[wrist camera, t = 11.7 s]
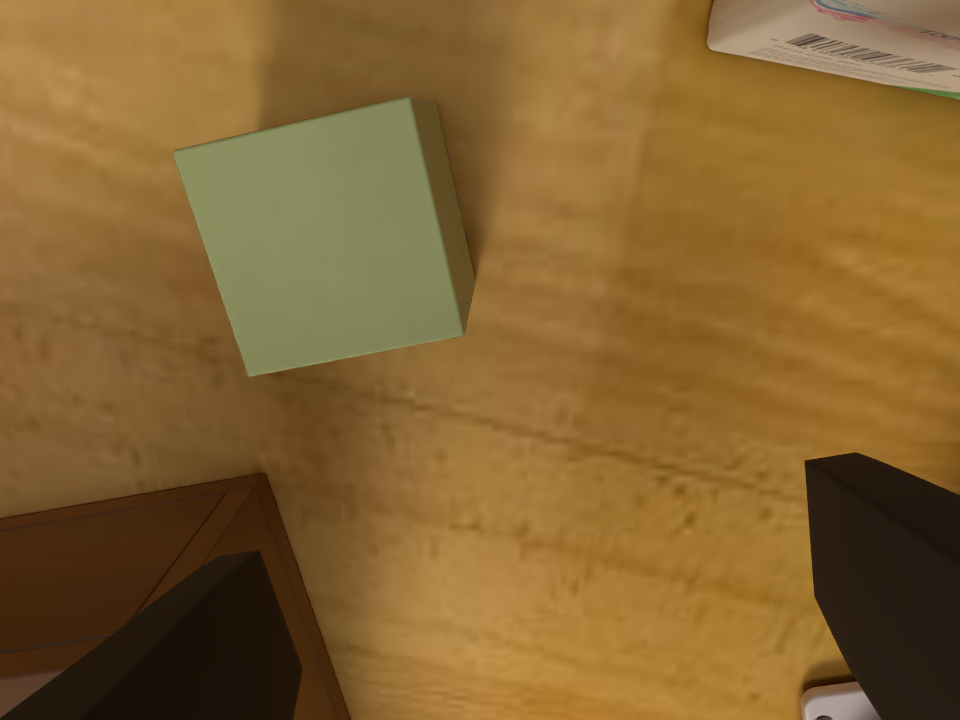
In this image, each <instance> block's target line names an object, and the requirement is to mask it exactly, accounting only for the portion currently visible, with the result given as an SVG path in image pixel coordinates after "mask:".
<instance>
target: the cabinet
mask: <svg viewBox="0 0 960 720" xmlns="http://www.w3.org/2000/svg"><path fill="white" fill-rule="evenodd" d="M254 550H260V552H261V555H262V557H263V560H264V563H265V566H266V568H267V571H268V574H269V577H270V579H271V582H272V585H273V588H274V590H275V593H276V596H277V599H278V601H279V604H280V607H281V610H282V612H283V615H284V618H285V621H286V623H287V626H288V629H289V632H290V634H291V637H292V640H293V643H294V645H295V648H296V651H297V654H298V656H299V659H300V662H301V665H302V668H303V672H302V677H301V683H300V688H299V693H298V698H297V703H296V709H295V713H294V718H293V720H350V718H349V715H348V712H347V709H346V706H345V704H344V701H343V698H342V695H341V692H340V689H339V686H338V683H337V681H336V678H335V675H334V672H333V669H332V666H331V663H330V660H329V657H328V655H327V652H326V649H325V646H324V643H323V640H322V637H321V634H320V631H319V629H318V626H317V623H316V620H315V617H314V614H313V611H312V608H311V606H310V603H309V600H308V597H307V594H306V591H305V588H304V585H303V582H302V580H301V577H300V574H299V571H298V568H297V565H296V562H295V559H294V557H293V554H292V551H291V548H290V545H289V542H288V539H287V536H286V533H285V531H284V528H283V525H282V522H281V519H280V516H279V513H278V510H277V507H276V505H275V502H274V499H273V496H272V493H271V490H270V487H269V484H268V482H267V479H266V476H265V474H257V475H252V476H246V477H240V478H234V479H229V480H223V481H217V482H212V483H206V484H200V485H195V486H189V487H183V488H177V489H172V490H166V491H160V492H155V493H149V494H143V495H137V496H132V497H126V498H120V499H115V500H109V501H103V502H97V503H92V504H86V505H80V506H75V507H69V508H63V509H57V510H52V511H46V512H40V513H35V514H29V515H23V516H17V517H12V518H6V519H0V718H1V717H2V716H3V715H5V714H6V713H7V712H9V711H10V710H11V709H13V708H14V707H15V706H17V705H18V704H20V703H21V702H22V701H24V700H25V699H26V698H28V697H29V696H30V695H32V694H33V693H35V692H36V691H37V690H39V689H40V688H41V687H43V686H44V685H45V684H47V683H48V682H49V681H51V680H52V679H54V678H55V677H56V676H58V675H59V674H60V673H62V672H63V671H64V670H66V669H67V668H69V667H70V666H71V665H73V664H74V663H75V662H77V661H78V660H79V659H81V658H82V657H83V656H85V655H86V654H87V653H88V652H90V651H91V650H92V649H94V648H95V647H96V646H97V645H99V644H100V643H101V642H103V641H104V640H105V639H106V638H108V637H109V636H110V635H112V634H113V633H114V632H115V631H117V630H118V629H119V628H121V627H122V626H123V625H124V624H126V623H127V622H128V621H130V620H131V619H132V618H133V617H135V616H136V615H137V614H139V613H140V612H141V611H142V610H144V609H145V608H146V607H148V606H149V605H150V604H151V603H153V602H154V601H155V600H157V599H158V598H159V597H161V596H162V595H163V594H164V593H166V592H167V591H168V590H170V589H171V588H172V587H174V586H175V585H176V584H178V583H179V582H180V581H182V580H183V579H184V578H186V577H187V576H189V575H190V574H191V573H193V572H194V571H196V570H197V569H199V568H200V567H202V566H203V565H205V564H206V563H208V562H209V561H211V560H213V559H214V558H216V557H218V556H223V555H229V554H235V553H241V552H248V551H254Z"/></svg>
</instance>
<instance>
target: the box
mask: <svg viewBox="0 0 960 720" xmlns="http://www.w3.org/2000/svg"><path fill="white" fill-rule="evenodd" d="M173 156H174V159H175V162H176V165H177V167H178V170H179V173H180V176H181V179H182V182H183V185H184V188H185V191H186V194H187V197H188V200H189V203H190V206H191V209H192V212H193V215H194V218H195V221H196V224H197V226H198V229H199V232H200V235H201V238H202V241H203V244H204V247H205V250H206V253H207V256H208V259H209V262H210V265H211V268H212V271H213V274H214V277H215V280H216V283H217V285H218V288H219V291H220V294H221V297H222V300H223V303H224V306H225V309H226V312H227V315H228V318H229V321H230V324H231V327H232V330H233V333H234V336H235V339H236V342H237V344H238V347H239V350H240V353H241V356H242V359H243V362H244V365H245V368H246V371H247V374H248V376H257V375H262V374H267V373H272V372H278V371H283V370H288V369H293V368H299V367H304V366H309V365H314V364H320V363H325V362H330V361H335V360H341V359H346V358H351V357H356V356H361V355H367V354H372V353H377V352H382V351H388V350H393V349H398V348H403V347H409V346H414V345H419V344H424V343H430V342H435V341H440V340H445V339H451V338H456V337H461V336H463V335H464V334H465V329H466V325H467V320H468V315H469V310H470V306H471V301H472V296H473V291H474V287H475V282H476V281H475V277H474V272H473V267H472V263H471V258H470V254H469V249H468V245H467V240H466V235H465V231H464V226H463V222H462V217H461V212H460V208H459V203H458V199H457V194H456V190H455V185H454V180H453V176H452V171H451V167H450V162H449V158H448V153H447V148H446V144H445V139H444V135H443V130H442V126H441V121H440V116H439V112H438V107H437V103H436V100H434V99H425V98H416V97H403V98H398V99H394V100H389V101H385V102H381V103H376V104H372V105H368V106H363V107H359V108H355V109H350V110H346V111H342V112H337V113H333V114H329V115H324V116H320V117H316V118H311V119H307V120H303V121H298V122H294V123H290V124H285V125H281V126H277V127H272V128H268V129H264V130H259V131H255V132H251V133H246V134H242V135H237V136H233V137H229V138H224V139H220V140H216V141H211V142H207V143H203V144H198V145H194V146H190V147H185V148H181V149H177V150H174V151H173Z"/></svg>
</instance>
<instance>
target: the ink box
mask: <svg viewBox="0 0 960 720" xmlns="http://www.w3.org/2000/svg"><path fill="white" fill-rule="evenodd" d="M707 45H708V47H709V48H710V49H711V50H714V51H719V52H724V53H730V54H735V55H741V56H746V57H751V58H756V59H761V60H766V61H771V62H776V63H781V64H786V65H791V66H796V67H801V68H806V69H811V70H816V71H821V72H826V73H831V74H836V75H841V76H846V77H851V78H856V79H861V80H866V81H871V82H876V83H880V84H885V85H890V86H895V87H900V88H905V89H910V90H914V91H919V92H924V93H929V94H933V95H937V96H943V97H948V98H952V99H957V100H960V0H714V2H713V6H712V10H711V15H710V20H709V30H708V38H707Z"/></svg>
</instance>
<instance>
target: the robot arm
mask: <svg viewBox="0 0 960 720" xmlns="http://www.w3.org/2000/svg"><path fill="white" fill-rule="evenodd" d="M805 472H806V486H807V500H808V513H809V527H810V541H811V555H812V569H813V582H814V596H815V598H816V600H817V603H818V605H819V607H820V609H821V611H822V613H823V615H824V618H825V620H826V622H827V624H828V626H829V628H830V630H831V633H832V635H833V637H834V639H835V641H836V643H837V645H838V647H839V649H840V651H841V653H842V655H843V657H844V659H845V661H846V663H847V665H848V667H849V669H850V671H851V672H852V674H853V676H854V677H855V679H856V680H857V682H850V683H842V684H834V685H827V686H819V687H814V688H810V689H809V690H807V691H806V692H805V693H804V694H803V695H802V697H801V714H802V720H960V495H958V494H955V493H953V492H951V491H949V490H946V489H944V488H942V487H939V486H937V485H935V484H932V483H930V482H928V481H926V480H923V479H921V478H919V477H916V476H914V475H912V474H909V473H907V472H905V471H902V470H900V469H898V468H895V467H893V466H890V465H888V464H886V463H883V462H881V461H878V460H876V459H873V458H870V457H867V456H865V455H862V454H859V453H856V452H855V453H849V454H843V455H837V456H830V457H824V458H818V459H812V460H806V461H805ZM302 672H303V668H302V665H301V662H300V659H299V656H298V654H297V651H296V648H295V645H294V643H293V640H292V637H291V634H290V632H289V629H288V626H287V623H286V621H285V618H284V615H283V612H282V610H281V607H280V604H279V601H278V599H277V596H276V593H275V590H274V588H273V585H272V582H271V579H270V577H269V574H268V571H267V568H266V566H265V563H264V560H263V557H262V555H261V552H260V550H254V551H248V552H241V553H235V554H229V555H223V556H218V557H216V558H214V559H213V560H211V561H209V562H208V563H206V564H205V565H203V566H202V567H200V568H199V569H197V570H196V571H194V572H193V573H191V574H190V575H189V576H187V577H186V578H184V579H183V580H182V581H180V582H179V583H178V584H176V585H175V586H174V587H172V588H171V589H170V590H168V591H167V592H166V593H164V594H163V595H162V596H161V597H159V598H158V599H157V600H155V601H154V602H153V603H151V604H150V605H149V606H148V607H146V608H145V609H144V610H142V611H141V612H140V613H139V614H137V615H136V616H135V617H133V618H132V619H131V620H130V621H128V622H127V623H126V624H124V625H123V626H122V627H121V628H119V629H118V630H117V631H115V632H114V633H113V634H112V635H110V636H109V637H108V638H106V639H105V640H104V641H103V642H101V643H100V644H99V645H97V646H96V647H95V648H94V649H92V650H91V651H90V652H88V653H87V654H86V655H85V656H83V657H82V658H81V659H79V660H78V661H77V662H75V663H74V664H73V665H71V666H70V667H69V668H67V669H66V670H64V671H63V672H62V673H60V674H59V675H58V676H56V677H55V678H54V679H52V680H51V681H49V682H48V683H47V684H45V685H44V686H43V687H41V688H40V689H39V690H37V691H36V692H35V693H33V694H32V695H30V696H29V697H28V698H26V699H25V700H24V701H22V702H21V703H20V704H18V705H17V706H15V707H14V708H13V709H11V710H10V711H9V712H7V713H6V714H5V715H3V716H2V717H1V718H0V720H293V718H294V713H295V709H296V703H297V698H298V693H299V688H300V683H301V677H302ZM822 715H825V716H824V717H821V718H818V717H819V716H822Z"/></svg>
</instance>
